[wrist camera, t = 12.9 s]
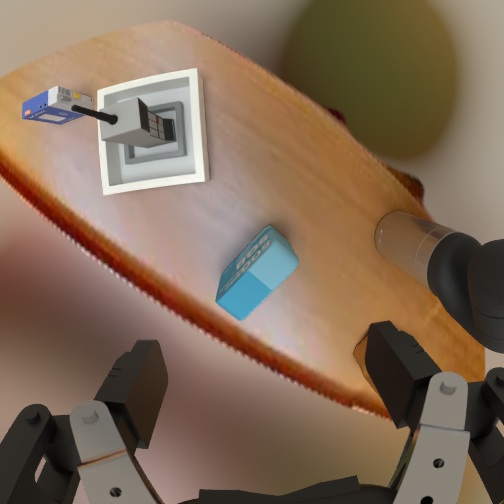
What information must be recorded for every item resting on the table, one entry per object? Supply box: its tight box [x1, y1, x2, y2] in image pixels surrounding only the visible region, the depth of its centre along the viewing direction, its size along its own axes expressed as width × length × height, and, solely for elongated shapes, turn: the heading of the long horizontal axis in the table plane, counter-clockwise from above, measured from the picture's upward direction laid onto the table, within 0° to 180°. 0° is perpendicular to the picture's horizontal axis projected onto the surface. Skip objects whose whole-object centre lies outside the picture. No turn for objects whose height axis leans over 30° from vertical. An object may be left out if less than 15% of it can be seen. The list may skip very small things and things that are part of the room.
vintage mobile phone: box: [71, 97, 176, 148], centre depth 30 cm, size 4×5×25 cm
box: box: [98, 68, 210, 195], centre depth 40 cm, size 16×17×6 cm
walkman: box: [22, 86, 93, 124], centre depth 35 cm, size 8×3×12 cm, turn 96°
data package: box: [215, 225, 299, 321], centre depth 43 cm, size 12×4×12 cm, turn 138°
